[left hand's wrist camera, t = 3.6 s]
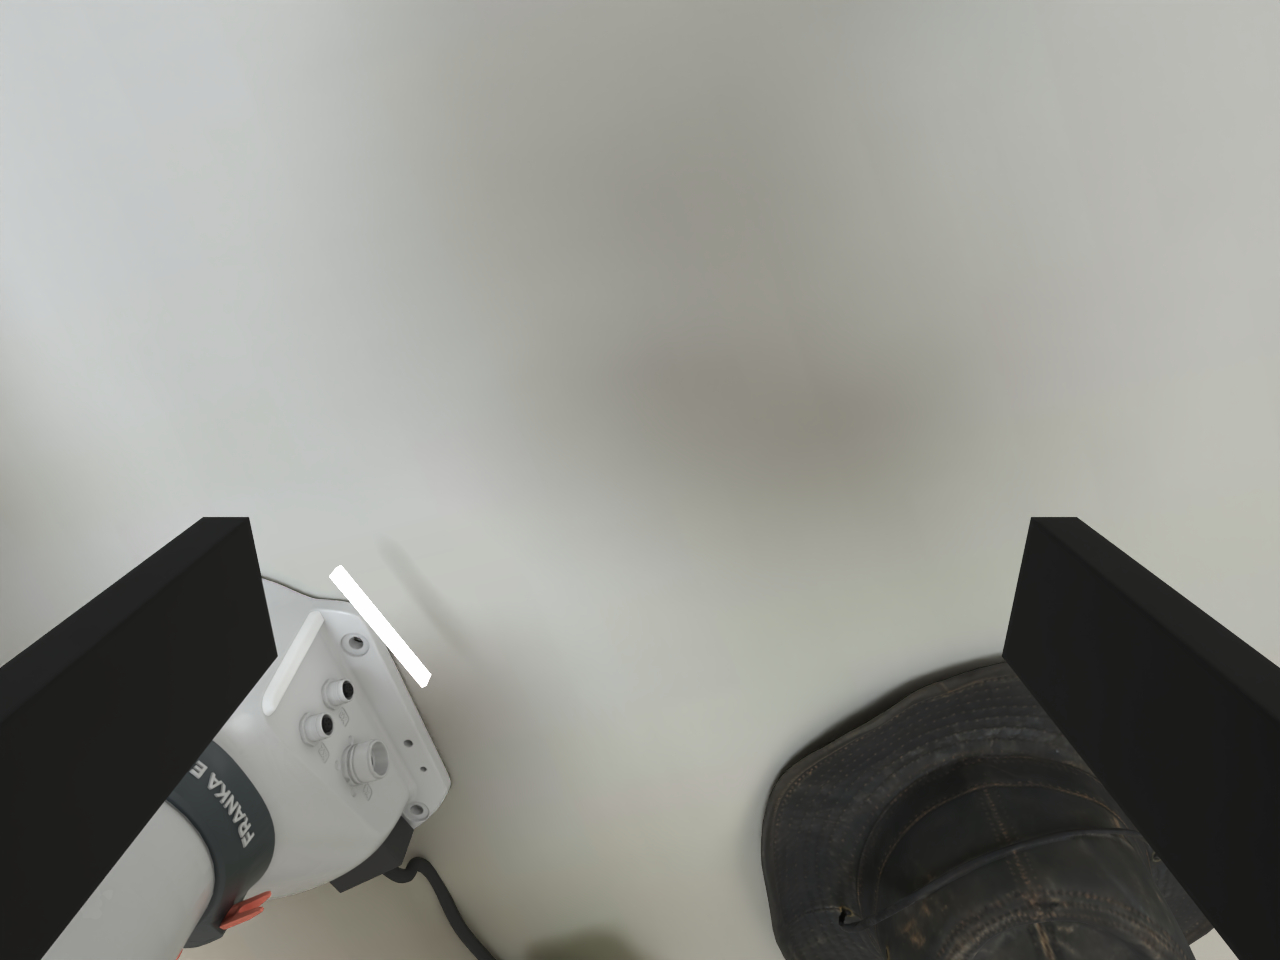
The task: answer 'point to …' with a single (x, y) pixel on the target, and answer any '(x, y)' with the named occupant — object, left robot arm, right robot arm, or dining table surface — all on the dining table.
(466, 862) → the dining table surface
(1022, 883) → the hat
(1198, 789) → the left robot arm
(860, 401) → the dining table surface
